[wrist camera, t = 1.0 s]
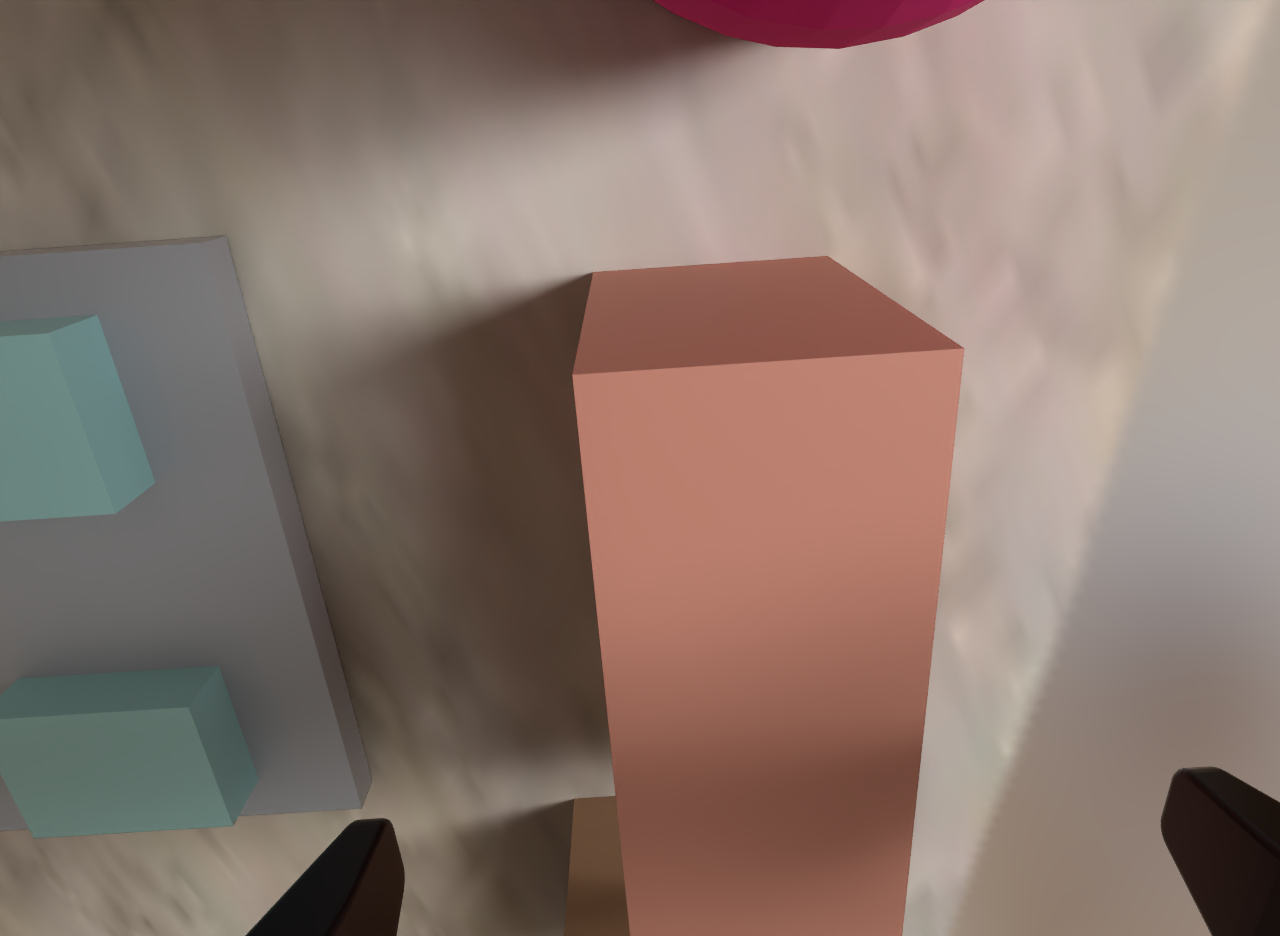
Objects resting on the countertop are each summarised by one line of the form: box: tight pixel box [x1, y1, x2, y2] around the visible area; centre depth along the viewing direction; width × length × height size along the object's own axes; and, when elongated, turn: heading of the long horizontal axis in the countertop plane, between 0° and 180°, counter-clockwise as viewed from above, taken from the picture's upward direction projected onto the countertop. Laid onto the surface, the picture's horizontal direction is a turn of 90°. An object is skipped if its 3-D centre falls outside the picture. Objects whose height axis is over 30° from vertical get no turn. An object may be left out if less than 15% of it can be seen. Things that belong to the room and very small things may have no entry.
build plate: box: [0, 236, 372, 838], centre depth 15 cm, size 12×8×2 cm, turn 4°
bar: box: [572, 256, 964, 936], centre depth 13 cm, size 10×4×6 cm, turn 4°
